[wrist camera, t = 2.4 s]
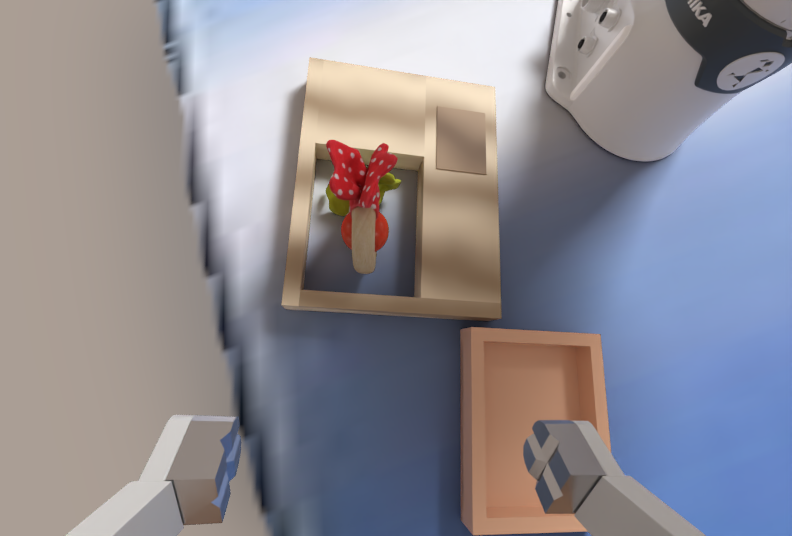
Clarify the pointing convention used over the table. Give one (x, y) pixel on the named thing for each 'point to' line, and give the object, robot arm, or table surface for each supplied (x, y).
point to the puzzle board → (436, 185)
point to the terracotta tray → (520, 419)
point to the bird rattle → (361, 199)
